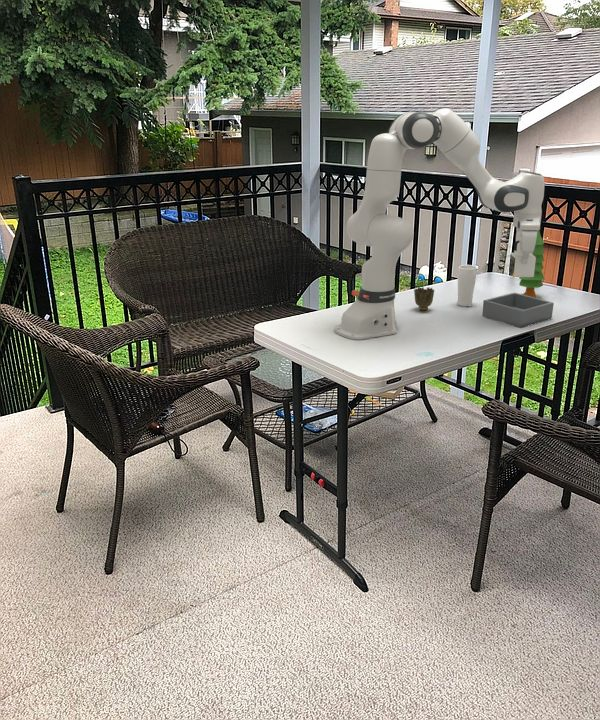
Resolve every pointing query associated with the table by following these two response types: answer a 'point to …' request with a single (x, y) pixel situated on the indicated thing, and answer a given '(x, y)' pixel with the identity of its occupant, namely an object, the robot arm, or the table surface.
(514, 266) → the medicine bottle
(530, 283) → the decorative tree
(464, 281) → the drinking glass
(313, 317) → the table surface
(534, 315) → the bin
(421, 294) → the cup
